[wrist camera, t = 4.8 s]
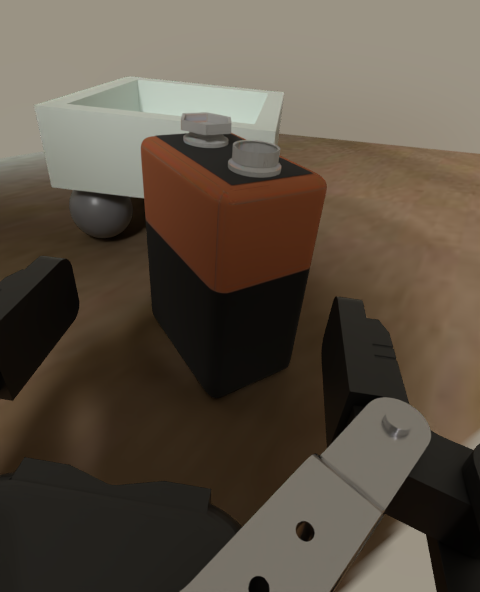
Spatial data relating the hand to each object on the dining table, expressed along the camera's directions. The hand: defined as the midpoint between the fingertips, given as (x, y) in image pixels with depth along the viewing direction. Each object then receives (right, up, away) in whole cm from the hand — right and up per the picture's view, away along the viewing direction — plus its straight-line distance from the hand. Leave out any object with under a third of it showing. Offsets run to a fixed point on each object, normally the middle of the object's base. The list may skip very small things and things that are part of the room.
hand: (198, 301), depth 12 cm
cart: (-3, +7, +19) cm, 20 cm away
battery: (0, -2, +8) cm, 8 cm away
